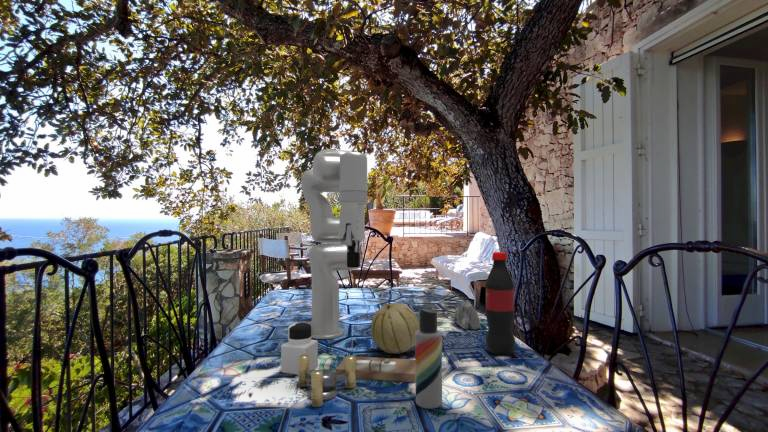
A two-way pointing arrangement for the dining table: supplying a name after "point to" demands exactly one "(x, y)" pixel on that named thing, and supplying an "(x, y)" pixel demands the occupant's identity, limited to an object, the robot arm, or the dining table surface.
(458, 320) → the mineral rock
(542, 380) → the dining table surface
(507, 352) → the cola bottle
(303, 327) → the medicine bottle
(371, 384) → the dining table surface
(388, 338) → the cantaloupe
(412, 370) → the level board
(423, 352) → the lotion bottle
